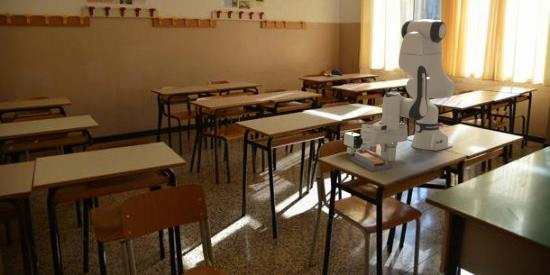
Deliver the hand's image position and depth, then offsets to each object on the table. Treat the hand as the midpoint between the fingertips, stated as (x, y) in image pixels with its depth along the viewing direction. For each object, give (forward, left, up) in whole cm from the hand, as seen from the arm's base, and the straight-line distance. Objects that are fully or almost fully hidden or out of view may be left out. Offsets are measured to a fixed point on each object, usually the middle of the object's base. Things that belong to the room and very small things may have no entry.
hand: (388, 151), depth 211 cm
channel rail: (+13, +4, -4) cm, 14 cm away
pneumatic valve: (+12, -15, -4) cm, 20 cm away
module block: (0, 0, -4) cm, 4 cm away
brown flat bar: (+13, +4, -2) cm, 14 cm away
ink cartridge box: (0, -18, -4) cm, 18 cm away
